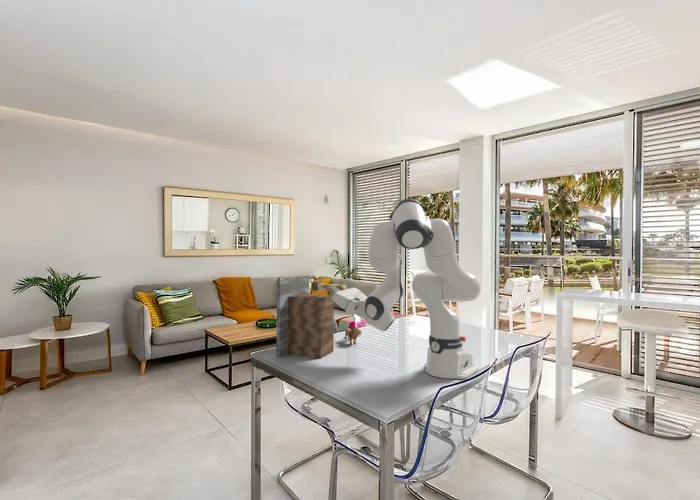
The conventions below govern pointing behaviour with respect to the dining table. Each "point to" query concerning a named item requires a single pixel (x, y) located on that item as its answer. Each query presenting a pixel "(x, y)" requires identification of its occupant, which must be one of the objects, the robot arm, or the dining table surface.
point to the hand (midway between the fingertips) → (335, 286)
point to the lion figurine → (352, 334)
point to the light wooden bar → (326, 287)
